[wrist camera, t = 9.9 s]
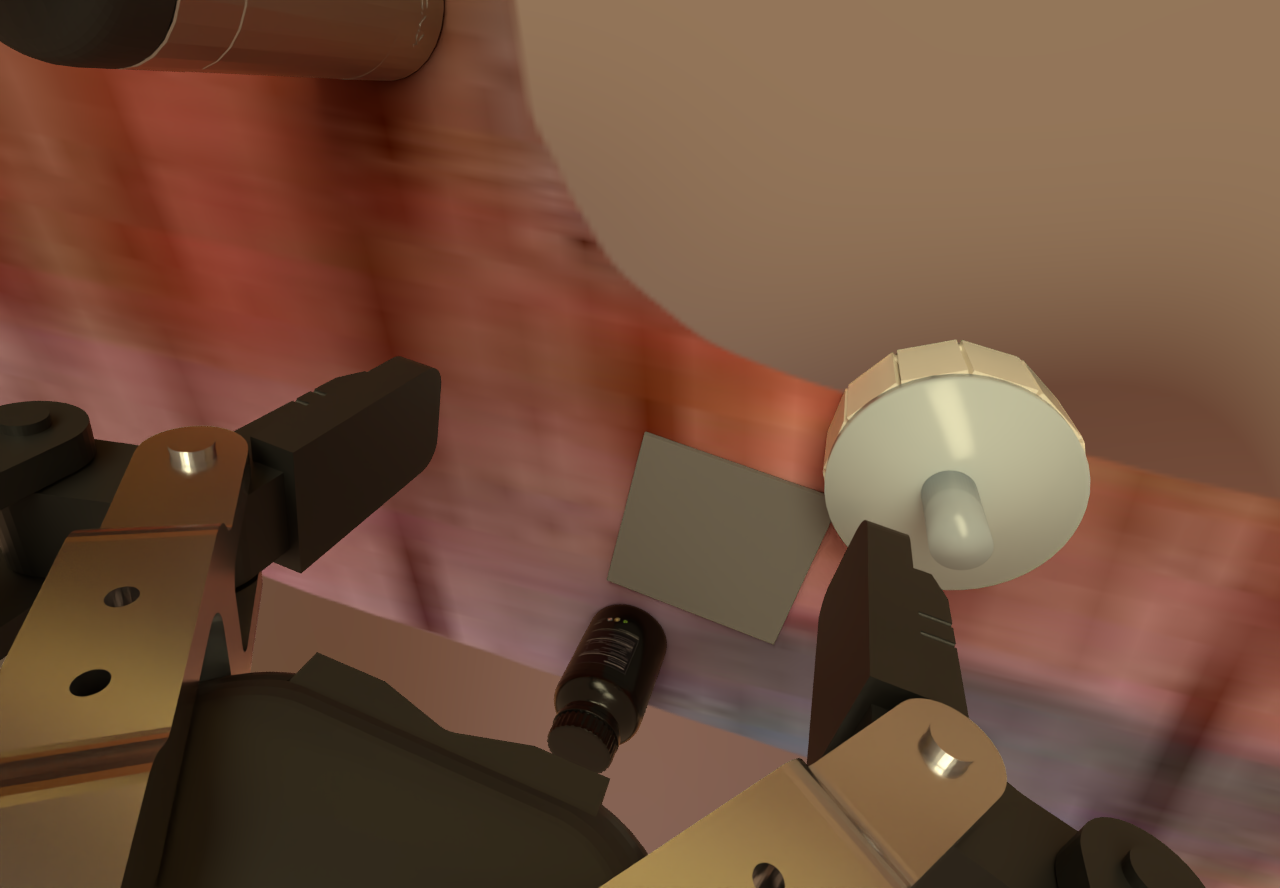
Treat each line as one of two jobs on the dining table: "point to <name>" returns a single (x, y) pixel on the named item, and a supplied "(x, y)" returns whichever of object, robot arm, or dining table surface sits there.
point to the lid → (961, 477)
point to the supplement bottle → (606, 686)
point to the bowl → (936, 362)
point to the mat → (717, 537)
